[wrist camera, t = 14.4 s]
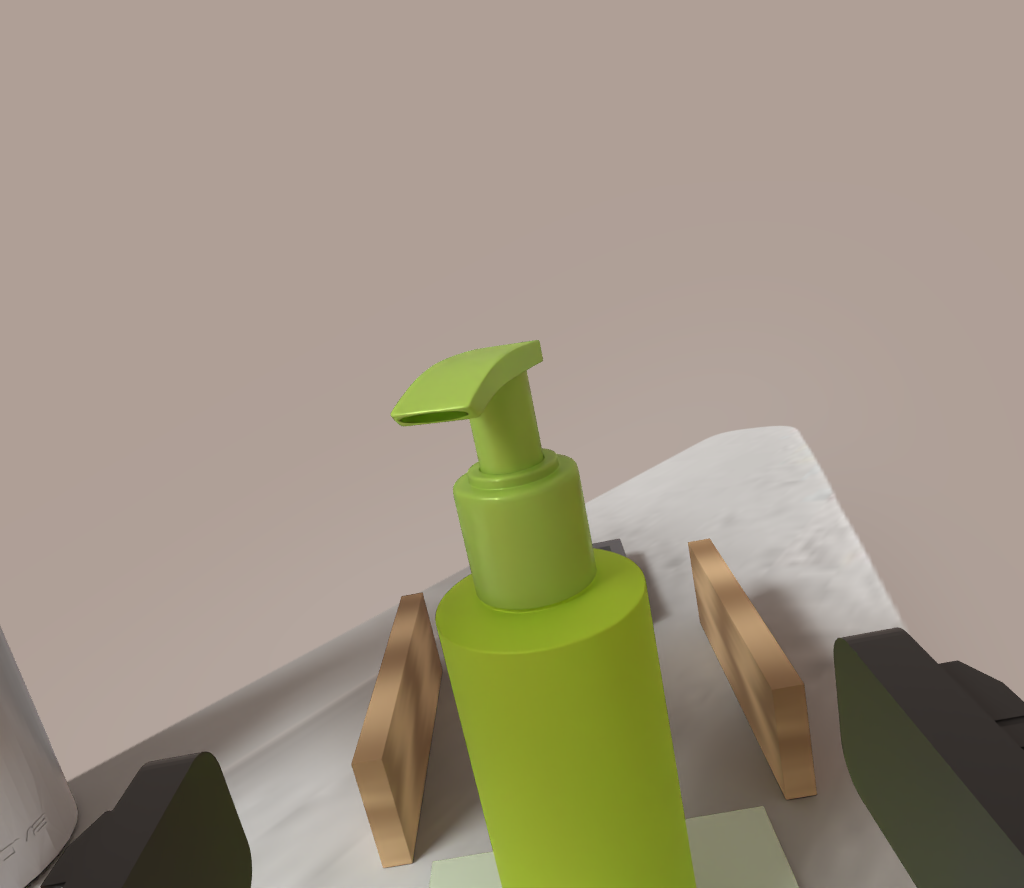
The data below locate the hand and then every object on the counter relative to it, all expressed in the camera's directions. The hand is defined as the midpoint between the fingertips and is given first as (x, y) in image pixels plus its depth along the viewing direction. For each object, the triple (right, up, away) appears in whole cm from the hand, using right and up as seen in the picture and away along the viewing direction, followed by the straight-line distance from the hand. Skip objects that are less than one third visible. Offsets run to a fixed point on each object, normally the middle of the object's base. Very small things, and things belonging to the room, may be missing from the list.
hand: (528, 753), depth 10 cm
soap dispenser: (+3, -13, +14) cm, 20 cm away
